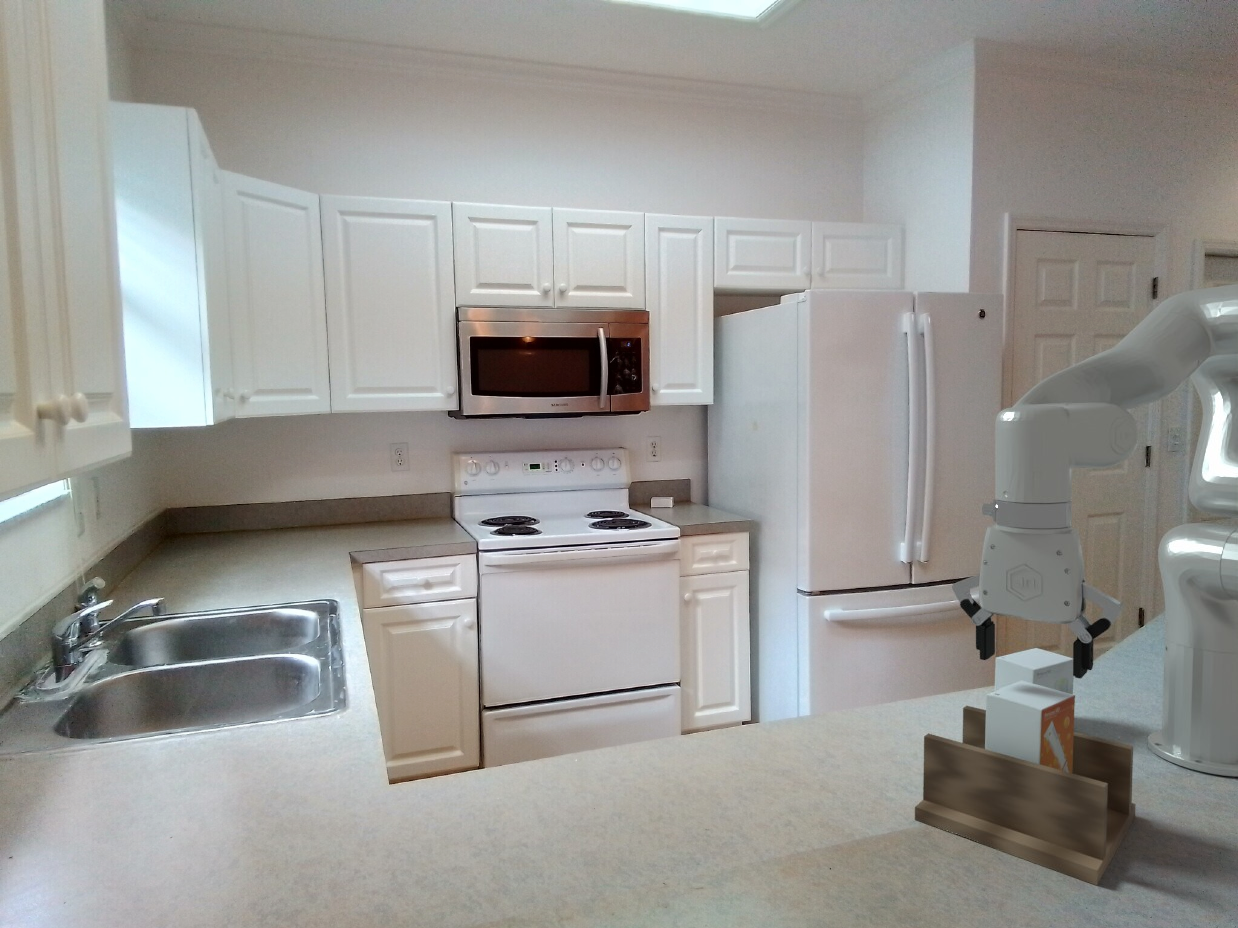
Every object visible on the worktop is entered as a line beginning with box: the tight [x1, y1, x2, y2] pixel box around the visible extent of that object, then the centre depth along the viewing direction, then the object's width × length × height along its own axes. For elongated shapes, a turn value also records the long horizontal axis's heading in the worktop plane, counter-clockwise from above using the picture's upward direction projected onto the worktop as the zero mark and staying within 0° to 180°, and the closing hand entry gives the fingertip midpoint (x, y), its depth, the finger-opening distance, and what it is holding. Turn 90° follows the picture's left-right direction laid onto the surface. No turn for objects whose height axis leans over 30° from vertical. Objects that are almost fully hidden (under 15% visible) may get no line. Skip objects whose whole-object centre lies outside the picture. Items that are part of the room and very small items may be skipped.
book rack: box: [914, 705, 1137, 886], centre depth 86 cm, size 18×18×9 cm
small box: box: [985, 681, 1076, 773], centre depth 86 cm, size 8×6×13 cm
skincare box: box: [993, 647, 1075, 695], centre depth 113 cm, size 10×6×10 cm, turn 120°
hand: (1032, 665), depth 86 cm, fingers open, 9 cm apart
